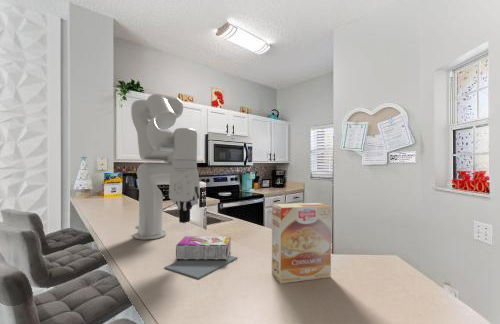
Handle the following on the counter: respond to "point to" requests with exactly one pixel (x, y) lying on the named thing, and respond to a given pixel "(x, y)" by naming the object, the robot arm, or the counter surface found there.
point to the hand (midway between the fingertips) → (184, 221)
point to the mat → (198, 266)
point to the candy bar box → (203, 248)
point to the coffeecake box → (301, 241)
